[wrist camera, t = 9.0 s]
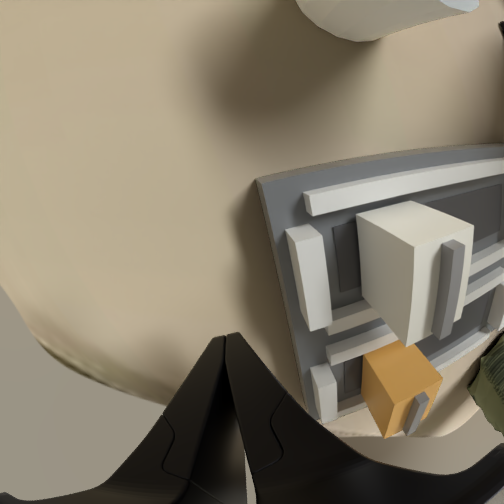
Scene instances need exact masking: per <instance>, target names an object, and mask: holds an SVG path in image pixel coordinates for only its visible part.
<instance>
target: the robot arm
mask: <svg viewBox="0 0 504 504" xmlns="http://www.w3.org/2000/svg"><path fill="white" fill-rule="evenodd" d="M500 24H501V26H502V29H503V31H504V21H502V22H500ZM163 415H164V416H163ZM163 415H161V416H160V417H159V419H158V420H157V422H156V423H155V425H154V426H153V428H152V429H151V431H150V432H149V433H148V434H147V436H146V437H145V438H144V440H143V441H142V442H141V443H140V444H139V445H138V447H137V448H136V449H135V450H134V452H132V454H131V455H130V456H129V457H128V458H127V459H126V460H125V461H124V463H123V464H122V465H121V466H120V467H119V468H118V469H117V470H116V471H115V472H114V474H113V475H112V476H111V477H110V478H109V479H108V480H106V481H105V482H104V483H102V484H101V485H99V486H97V487H95V488H92V489H90V490H85V491H82V492H78V493H74V494H69V495H64V496H59V497H54V498H49V499H43V500H35V501H26V500H19V499H17V498H15V497H13V496H11V495H10V494H8V493H6V492H3V493H0V504H247V490H246V473H245V453H246V456H247V460H248V464H249V468H250V472H251V475H252V479H253V483H254V487H255V493H256V504H504V443H501V444H499V445H498V446H496V447H495V448H494V449H493V450H492V451H490V452H489V453H488V454H487V455H485V456H484V457H483V458H482V459H481V460H480V461H478V462H477V463H476V464H474V465H473V466H472V467H470V468H468V469H466V470H464V471H461V472H459V473H455V474H449V475H439V474H432V473H426V472H421V471H416V470H411V469H406V468H401V467H397V466H393V465H389V464H385V463H382V462H378V461H375V460H372V459H370V458H368V457H366V456H364V455H362V454H361V453H359V452H357V451H356V450H354V449H353V448H351V447H350V446H349V445H347V444H346V443H345V442H343V441H342V440H340V439H339V438H338V437H336V436H335V435H334V434H332V433H331V432H330V431H328V430H327V429H326V428H325V427H323V426H322V425H321V424H319V423H318V422H317V421H316V420H315V419H314V418H312V417H311V416H310V415H309V414H308V413H307V412H306V411H305V410H304V409H303V408H302V407H301V406H300V405H299V404H298V403H297V402H296V401H295V400H294V398H293V397H292V396H291V395H290V394H289V393H288V392H287V390H286V389H285V388H284V387H283V386H282V385H281V383H280V382H279V381H278V380H277V379H276V377H275V376H274V375H273V374H272V373H271V371H270V370H269V369H268V368H267V366H266V365H265V364H264V363H263V362H262V360H261V359H260V358H259V357H258V355H257V354H256V353H255V352H254V350H253V349H252V348H251V347H250V345H249V344H248V343H247V342H246V340H245V339H244V338H243V336H242V335H241V334H240V333H239V332H235V333H231V334H228V335H226V336H225V335H222V336H218V337H214V338H212V340H211V341H210V343H209V344H208V346H207V347H206V349H205V350H204V352H203V353H202V355H201V356H200V358H199V359H198V361H197V362H196V364H195V365H194V367H193V368H192V370H191V371H190V373H189V374H188V376H187V377H186V379H185V380H184V382H183V383H182V385H181V386H180V388H179V389H178V391H177V392H176V394H175V395H174V397H173V398H172V400H171V401H170V403H169V404H168V406H167V407H166V409H165V410H164V412H163ZM244 449H245V453H244Z"/></svg>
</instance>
